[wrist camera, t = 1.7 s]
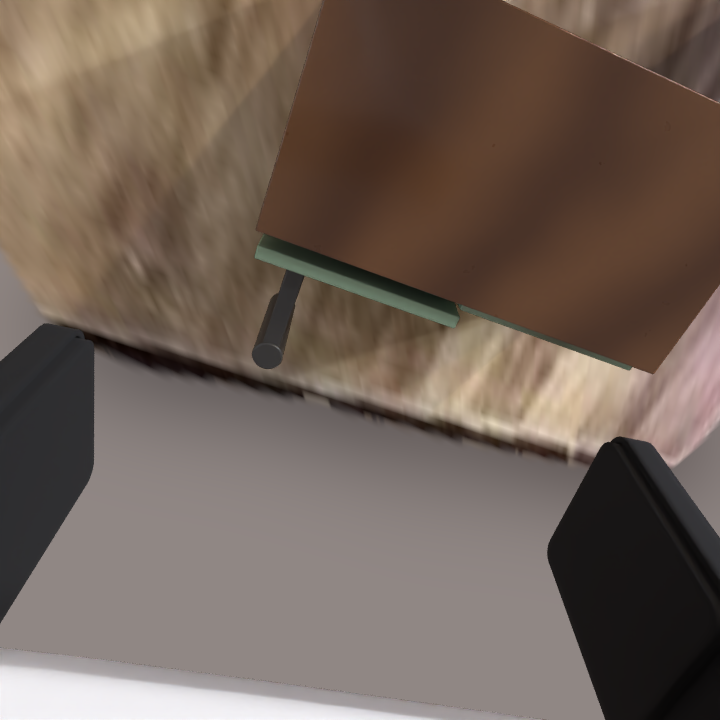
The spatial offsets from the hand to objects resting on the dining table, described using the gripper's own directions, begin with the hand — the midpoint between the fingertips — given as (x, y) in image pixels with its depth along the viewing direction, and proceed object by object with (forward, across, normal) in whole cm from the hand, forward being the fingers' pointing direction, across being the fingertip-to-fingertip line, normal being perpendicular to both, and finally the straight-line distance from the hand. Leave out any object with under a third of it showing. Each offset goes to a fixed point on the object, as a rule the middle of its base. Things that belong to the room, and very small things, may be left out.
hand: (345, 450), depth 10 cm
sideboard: (+23, -6, -3) cm, 24 cm away
